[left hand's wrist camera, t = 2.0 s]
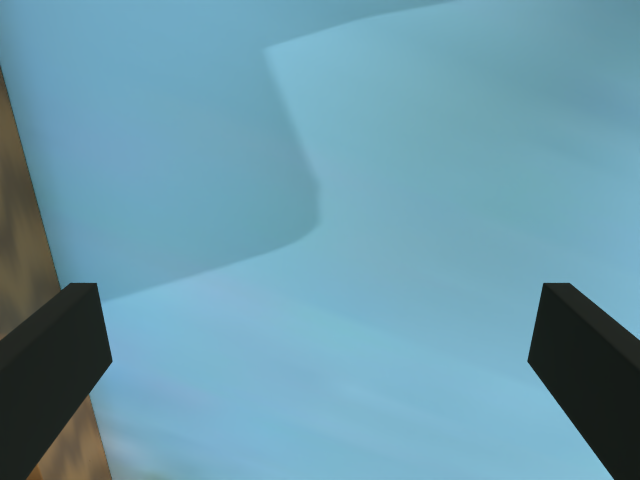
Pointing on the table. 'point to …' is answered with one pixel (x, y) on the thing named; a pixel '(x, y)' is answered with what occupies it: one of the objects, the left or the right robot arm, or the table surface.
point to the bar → (37, 299)
